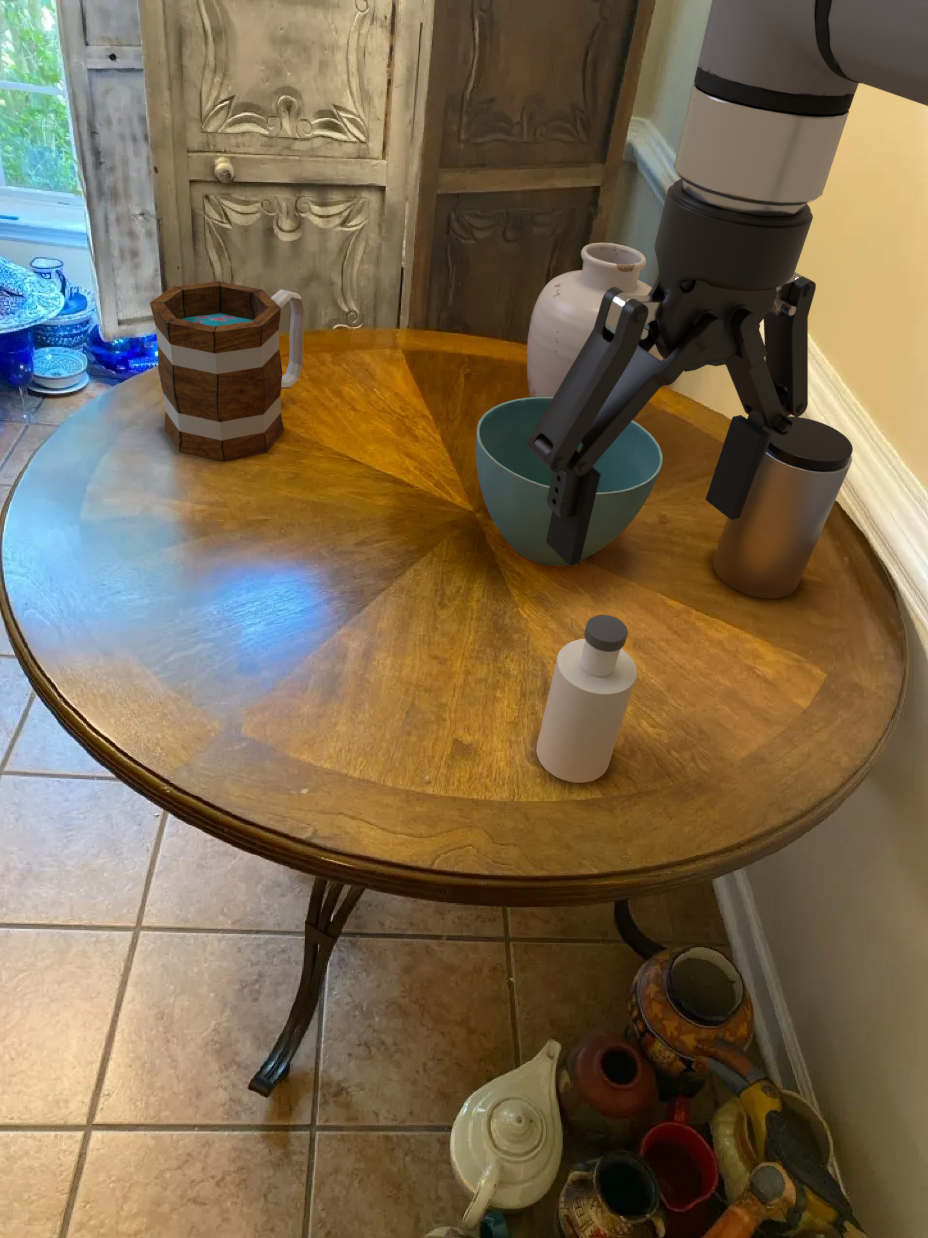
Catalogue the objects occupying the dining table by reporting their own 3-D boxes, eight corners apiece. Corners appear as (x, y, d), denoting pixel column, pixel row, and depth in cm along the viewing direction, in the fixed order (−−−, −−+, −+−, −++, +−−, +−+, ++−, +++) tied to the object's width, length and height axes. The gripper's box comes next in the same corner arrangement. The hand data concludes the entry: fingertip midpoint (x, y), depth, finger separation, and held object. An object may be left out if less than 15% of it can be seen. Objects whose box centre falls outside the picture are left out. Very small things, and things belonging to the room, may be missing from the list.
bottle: (624, 762, 74) (666, 637, 65) (570, 794, 71) (607, 668, 62) (574, 716, 78) (607, 591, 69) (521, 745, 74) (548, 618, 66)
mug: (222, 474, 100) (211, 344, 90) (139, 429, 105) (121, 301, 95) (342, 414, 113) (345, 294, 103) (263, 377, 118) (259, 259, 108)
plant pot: (595, 490, 105) (618, 392, 98) (663, 588, 93) (695, 485, 85) (444, 500, 100) (455, 398, 93) (493, 606, 88) (510, 498, 80)
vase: (550, 480, 106) (588, 285, 91) (492, 415, 117) (517, 230, 102) (663, 462, 112) (715, 276, 97) (597, 402, 122) (636, 225, 108)
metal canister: (815, 581, 96) (875, 448, 86) (762, 609, 92) (819, 472, 81) (748, 537, 101) (797, 406, 91) (695, 562, 97) (740, 427, 86)
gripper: (852, 160, 55) (744, 466, 68) (499, 179, 44) (455, 539, 57) (956, 200, 50) (818, 520, 64) (590, 233, 39) (519, 611, 53)
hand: (646, 530), depth 61 cm, fingers open, 13 cm apart
